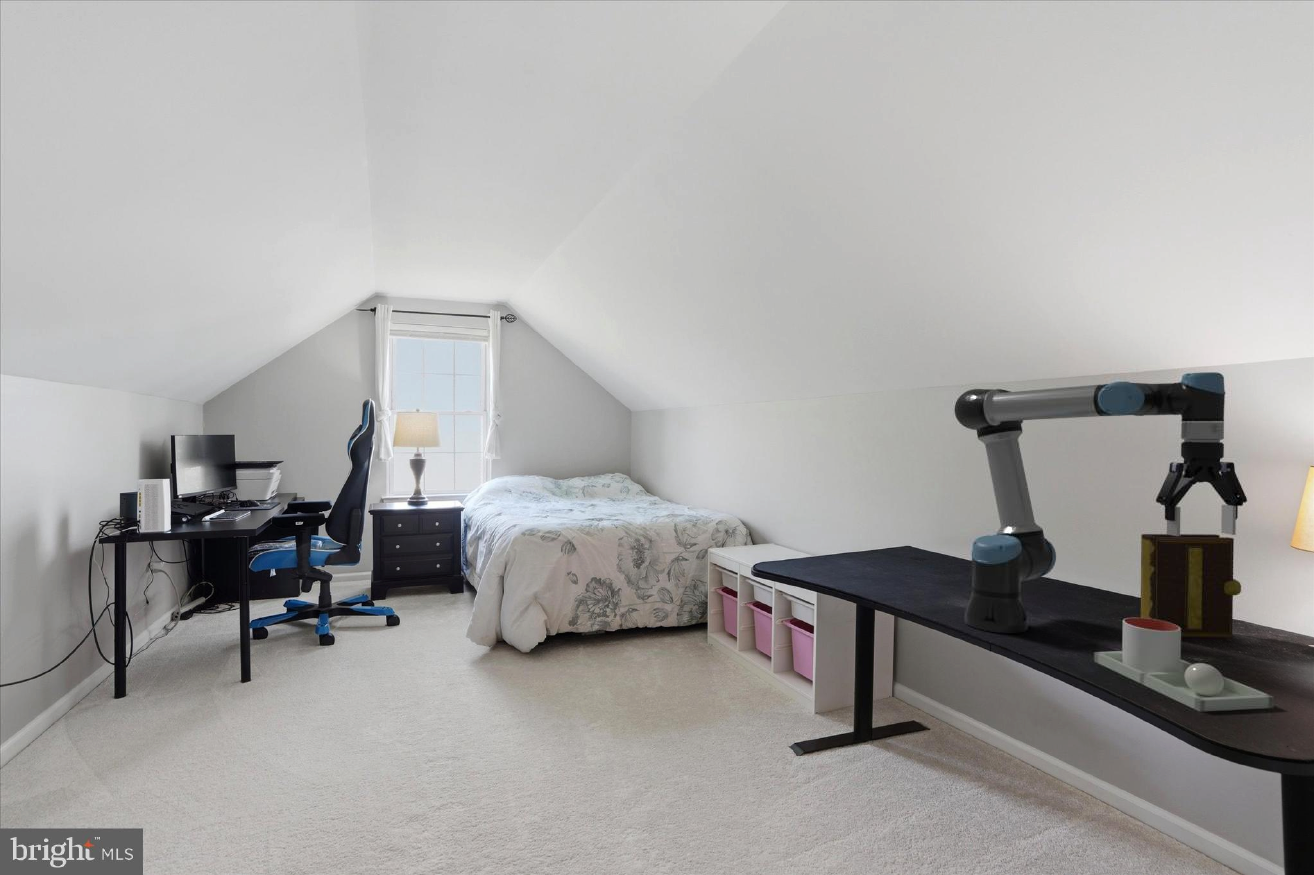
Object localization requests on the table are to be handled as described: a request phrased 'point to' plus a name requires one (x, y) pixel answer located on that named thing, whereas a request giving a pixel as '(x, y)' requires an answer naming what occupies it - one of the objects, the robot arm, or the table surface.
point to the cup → (1151, 645)
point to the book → (1189, 582)
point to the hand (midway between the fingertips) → (1200, 534)
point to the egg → (1204, 679)
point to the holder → (1177, 688)
